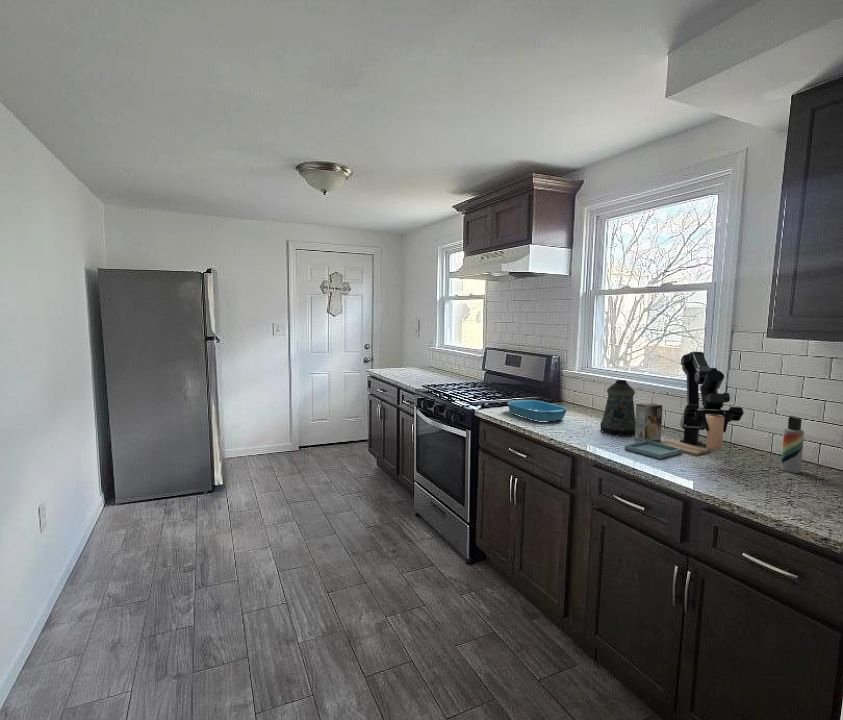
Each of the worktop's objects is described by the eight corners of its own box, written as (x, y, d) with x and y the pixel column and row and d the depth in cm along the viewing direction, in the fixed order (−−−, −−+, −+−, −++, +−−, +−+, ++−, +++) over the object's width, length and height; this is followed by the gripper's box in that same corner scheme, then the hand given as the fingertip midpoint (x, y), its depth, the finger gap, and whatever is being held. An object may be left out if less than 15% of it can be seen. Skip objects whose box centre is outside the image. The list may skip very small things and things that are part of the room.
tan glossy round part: (710, 445, 179) (712, 414, 178) (725, 448, 174) (727, 416, 173) (703, 447, 176) (705, 415, 175) (717, 450, 172) (720, 418, 171)
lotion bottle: (781, 467, 174) (785, 414, 172) (800, 470, 171) (805, 416, 169) (780, 471, 170) (784, 416, 168) (800, 474, 166) (805, 419, 164)
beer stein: (602, 435, 219) (604, 382, 217) (597, 426, 238) (599, 377, 236) (640, 437, 216) (643, 383, 213) (632, 428, 234) (634, 378, 232)
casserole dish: (500, 412, 271) (500, 400, 270) (531, 409, 280) (532, 397, 279) (540, 426, 237) (541, 412, 237) (575, 422, 246) (575, 409, 246)
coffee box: (650, 436, 217) (652, 402, 216) (661, 440, 211) (663, 405, 210) (634, 438, 215) (635, 403, 213) (644, 441, 209) (646, 406, 207)
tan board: (670, 442, 208) (670, 439, 207) (710, 452, 193) (710, 449, 193) (655, 446, 202) (655, 443, 202) (696, 456, 187) (696, 453, 187)
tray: (646, 444, 203) (646, 440, 203) (681, 453, 191) (681, 448, 190) (624, 450, 195) (625, 445, 195) (659, 459, 183) (660, 454, 182)
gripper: (687, 383, 180) (692, 417, 170) (743, 386, 174) (752, 421, 165) (681, 400, 188) (686, 433, 179) (735, 403, 182) (743, 437, 173)
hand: (716, 431), depth 173 cm, fingers closed on tan glossy round part, 5 cm apart
